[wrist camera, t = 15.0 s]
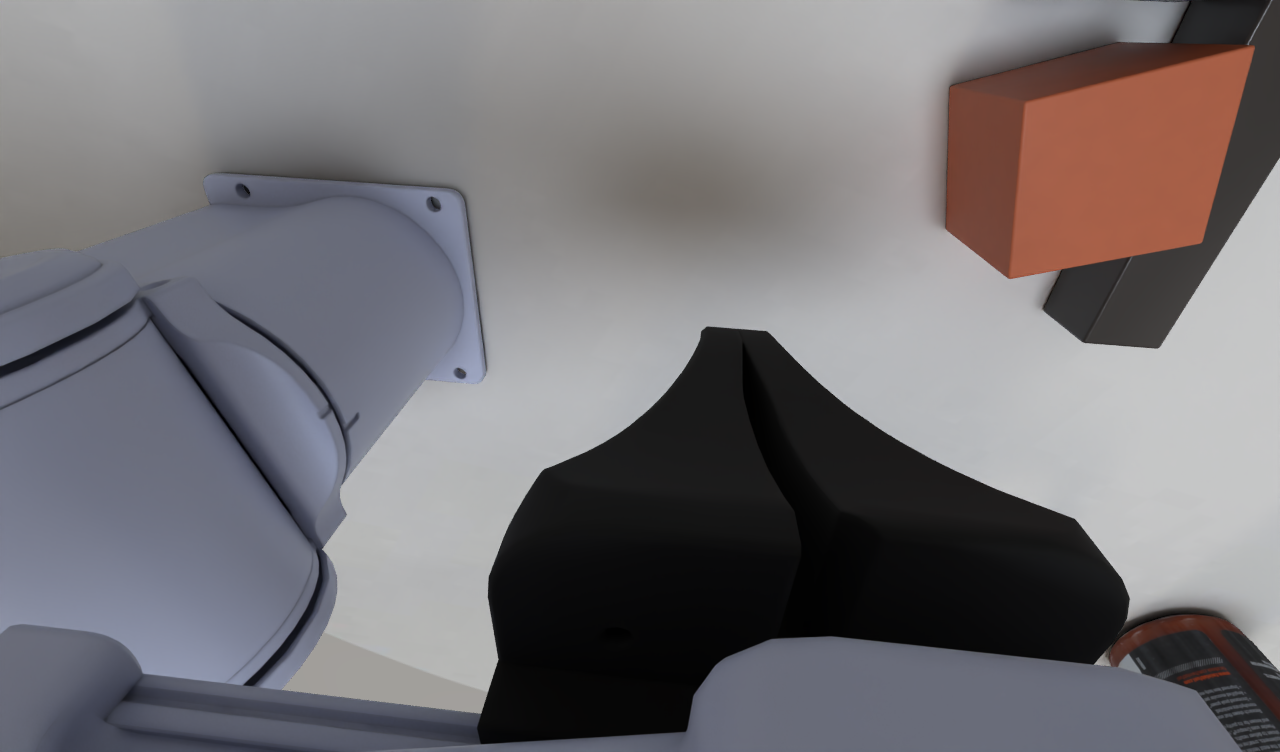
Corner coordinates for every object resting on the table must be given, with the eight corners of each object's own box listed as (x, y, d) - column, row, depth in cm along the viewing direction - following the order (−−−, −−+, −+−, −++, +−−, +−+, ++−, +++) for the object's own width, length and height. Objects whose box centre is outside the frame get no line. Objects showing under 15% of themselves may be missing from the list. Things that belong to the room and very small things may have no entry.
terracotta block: (945, 230, 19) (1008, 280, 15) (948, 85, 16) (1024, 101, 13) (1094, 199, 18) (1203, 244, 14) (1120, 41, 15) (1257, 43, 12)
